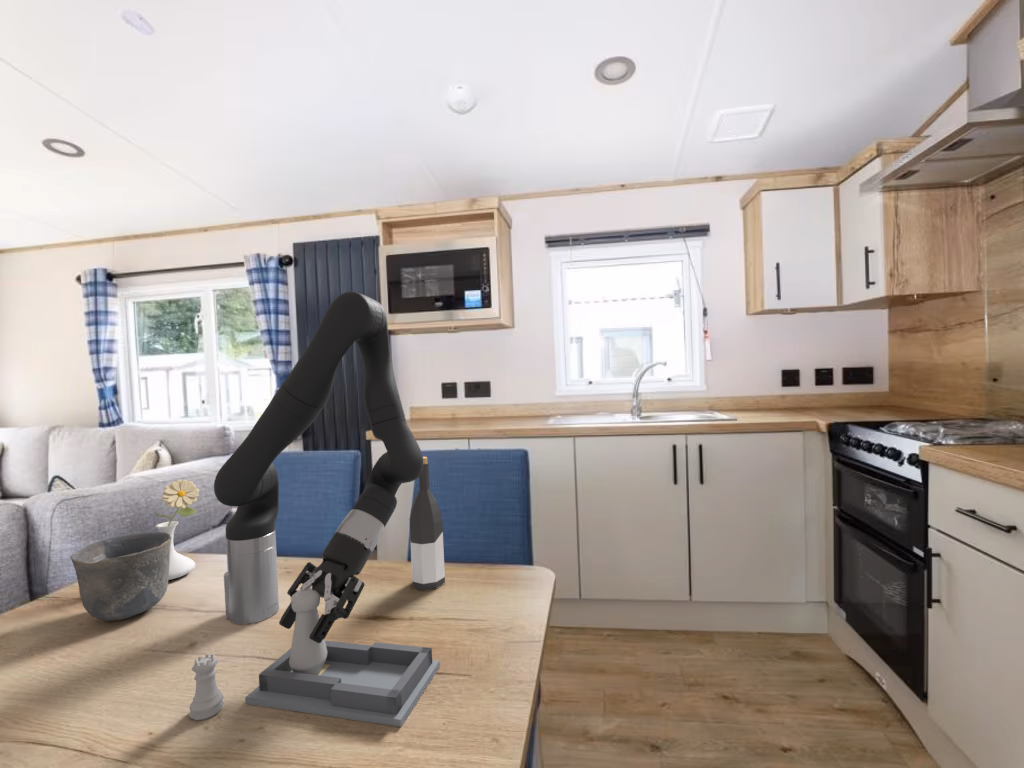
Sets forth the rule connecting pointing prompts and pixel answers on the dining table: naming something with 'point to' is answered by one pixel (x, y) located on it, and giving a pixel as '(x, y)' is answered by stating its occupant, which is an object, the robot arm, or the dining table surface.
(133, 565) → the grey stone bowl
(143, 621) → the dining table surface
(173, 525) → the flower in vase
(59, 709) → the dining table surface
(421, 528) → the wine bottle
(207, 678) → the rook chess piece
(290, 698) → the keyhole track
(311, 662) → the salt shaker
